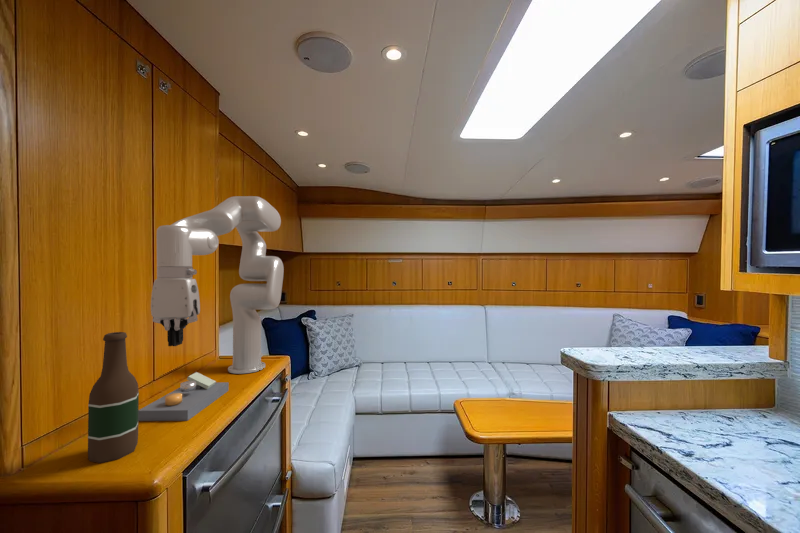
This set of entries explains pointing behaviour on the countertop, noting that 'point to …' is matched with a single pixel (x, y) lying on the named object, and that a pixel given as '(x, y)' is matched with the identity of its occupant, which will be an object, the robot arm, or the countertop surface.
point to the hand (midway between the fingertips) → (175, 344)
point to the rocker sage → (201, 380)
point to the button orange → (173, 399)
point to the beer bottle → (113, 405)
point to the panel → (183, 404)
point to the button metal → (188, 386)
